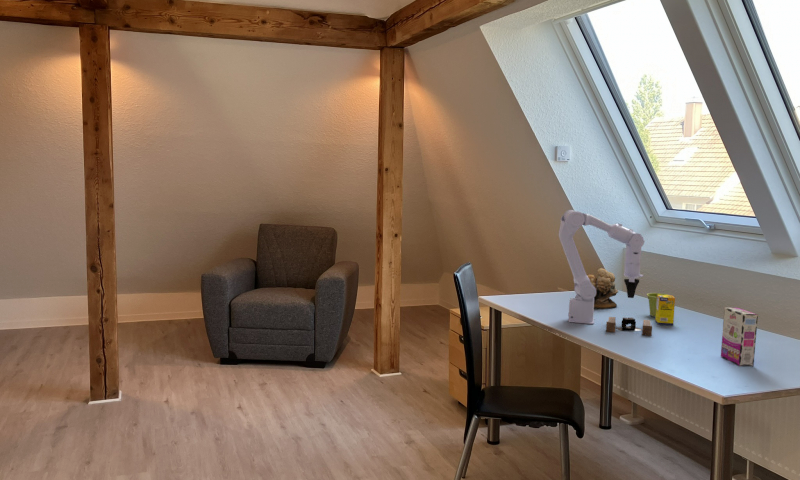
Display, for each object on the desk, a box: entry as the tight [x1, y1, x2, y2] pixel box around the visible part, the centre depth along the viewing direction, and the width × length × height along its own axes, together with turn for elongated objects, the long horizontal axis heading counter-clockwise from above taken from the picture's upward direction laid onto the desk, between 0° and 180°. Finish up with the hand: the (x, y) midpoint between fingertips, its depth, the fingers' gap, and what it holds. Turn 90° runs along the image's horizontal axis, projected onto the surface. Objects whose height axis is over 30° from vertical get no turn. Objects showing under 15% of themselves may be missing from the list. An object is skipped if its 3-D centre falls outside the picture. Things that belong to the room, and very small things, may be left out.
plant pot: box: [646, 292, 669, 318], centre depth 283 cm, size 9×9×9 cm
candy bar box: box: [720, 307, 759, 367], centre depth 217 cm, size 11×5×16 cm, turn 5°
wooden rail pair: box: [605, 316, 653, 337], centre depth 258 cm, size 16×14×4 cm
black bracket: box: [615, 317, 643, 332], centre depth 259 cm, size 12×7×5 cm, turn 101°
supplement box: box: [654, 294, 676, 326], centre depth 269 cm, size 6×6×11 cm
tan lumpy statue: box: [586, 267, 619, 310], centre depth 300 cm, size 18×12×17 cm, turn 107°
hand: (630, 297), depth 269 cm, fingers closed
